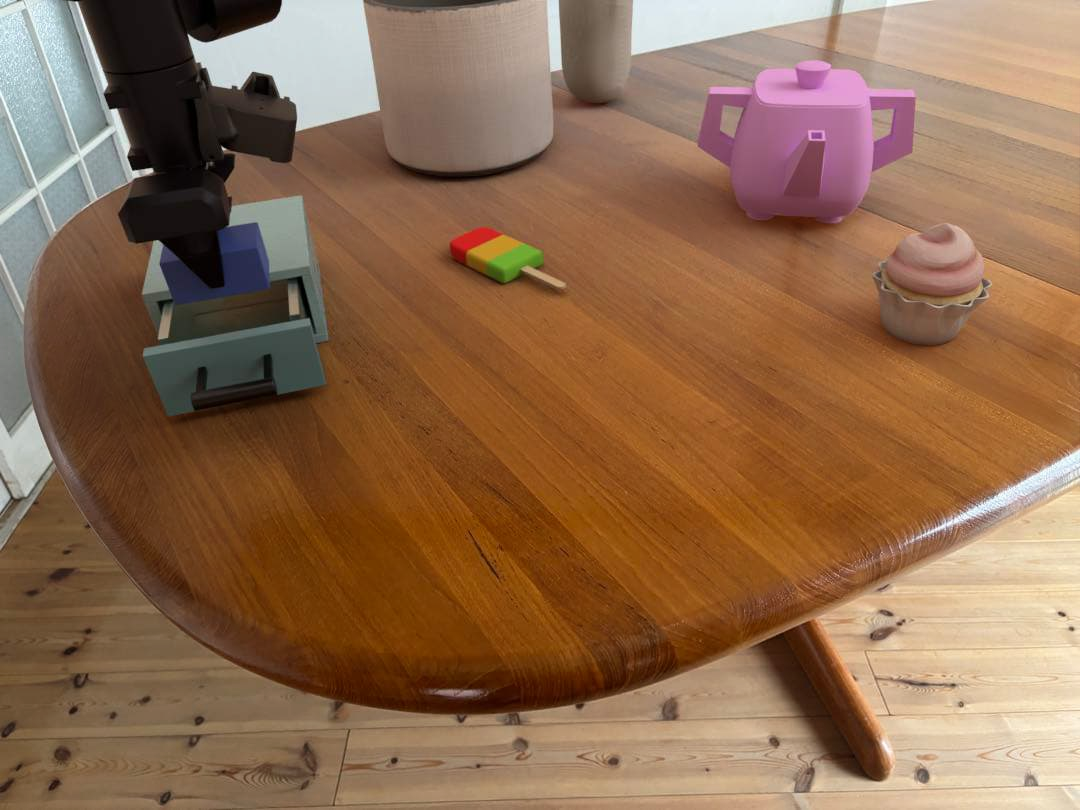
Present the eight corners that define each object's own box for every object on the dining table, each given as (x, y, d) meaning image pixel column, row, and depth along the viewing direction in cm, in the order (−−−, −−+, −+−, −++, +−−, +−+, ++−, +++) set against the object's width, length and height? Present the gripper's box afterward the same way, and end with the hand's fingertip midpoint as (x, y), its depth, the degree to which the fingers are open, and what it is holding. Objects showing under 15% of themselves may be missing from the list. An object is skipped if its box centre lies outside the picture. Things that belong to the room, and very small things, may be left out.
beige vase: (550, 101, 125) (541, -114, 108) (601, 86, 130) (600, -123, 113) (591, 116, 119) (588, -110, 102) (643, 100, 124) (649, -119, 106)
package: (269, 289, 63) (257, 246, 61) (175, 306, 62) (158, 263, 59) (269, 262, 66) (257, 221, 64) (179, 277, 65) (164, 236, 63)
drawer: (330, 420, 64) (313, 358, 61) (162, 455, 62) (134, 393, 58) (316, 300, 79) (302, 245, 76) (180, 324, 77) (159, 269, 73)
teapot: (799, 256, 83) (824, 105, 74) (676, 200, 95) (683, 64, 86) (916, 203, 91) (951, 61, 82) (789, 158, 103) (807, 30, 94)
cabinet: (328, 341, 75) (309, 265, 70) (172, 370, 73) (141, 294, 68) (318, 263, 87) (301, 194, 83) (183, 287, 85) (158, 217, 80)
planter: (584, 157, 107) (581, -12, 94) (421, 197, 100) (394, 19, 87) (512, 110, 123) (501, -40, 111) (367, 141, 116) (338, -15, 104)
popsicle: (485, 239, 90) (483, 223, 89) (584, 285, 81) (583, 267, 80) (446, 257, 87) (443, 241, 86) (543, 307, 78) (542, 289, 77)
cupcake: (842, 331, 72) (864, 226, 66) (891, 289, 77) (916, 188, 71) (949, 371, 67) (983, 261, 60) (994, 323, 72) (1030, 217, 66)
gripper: (275, 85, 48) (332, 313, 58) (272, 15, 62) (318, 207, 72) (73, 112, 46) (166, 343, 56) (118, 33, 60) (186, 228, 70)
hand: (219, 272), depth 63 cm, fingers closed on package, 4 cm apart
